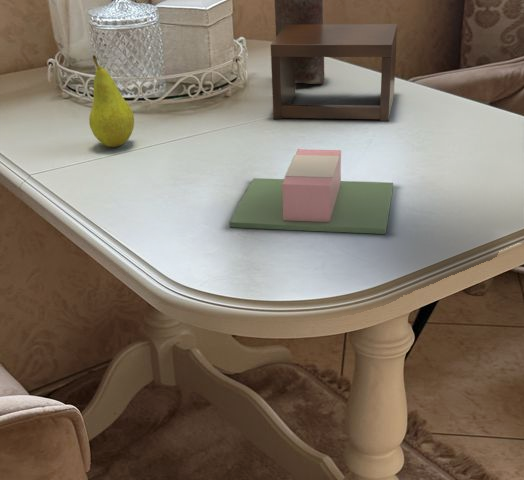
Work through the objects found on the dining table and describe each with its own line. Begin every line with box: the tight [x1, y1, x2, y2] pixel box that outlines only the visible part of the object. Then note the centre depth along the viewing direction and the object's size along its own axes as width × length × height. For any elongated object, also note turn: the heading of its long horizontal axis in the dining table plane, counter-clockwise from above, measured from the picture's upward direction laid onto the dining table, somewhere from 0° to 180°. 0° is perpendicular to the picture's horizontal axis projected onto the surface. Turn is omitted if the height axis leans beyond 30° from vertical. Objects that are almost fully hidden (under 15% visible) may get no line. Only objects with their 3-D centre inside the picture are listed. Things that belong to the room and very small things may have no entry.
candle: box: [274, 0, 325, 85], centre depth 119 cm, size 8×7×20 cm
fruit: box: [88, 55, 135, 148], centre depth 101 cm, size 6×6×12 cm
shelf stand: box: [270, 23, 398, 122], centre depth 111 cm, size 16×12×10 cm
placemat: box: [229, 177, 394, 235], centre depth 85 cm, size 16×12×1 cm
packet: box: [282, 148, 342, 222], centre depth 84 cm, size 5×10×4 cm, turn 169°
